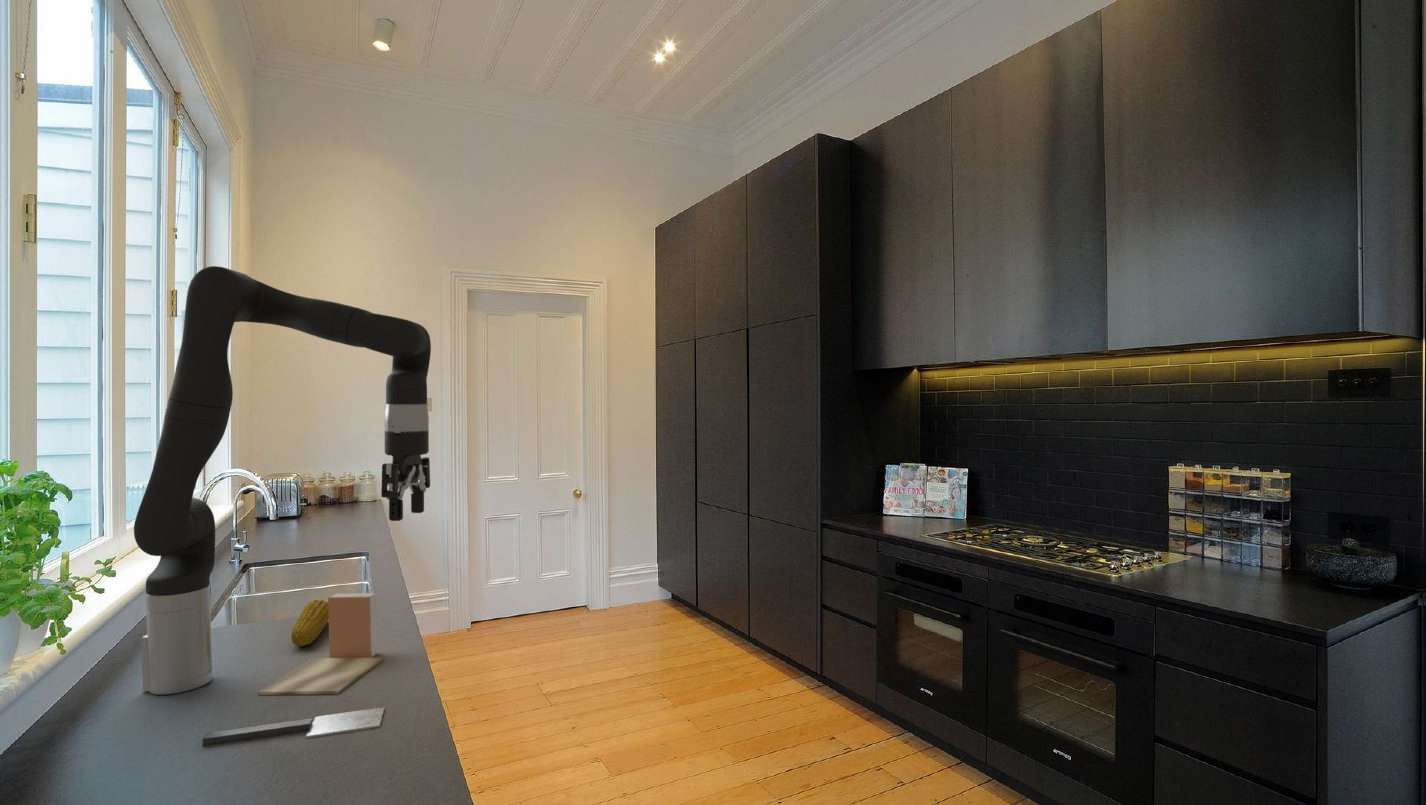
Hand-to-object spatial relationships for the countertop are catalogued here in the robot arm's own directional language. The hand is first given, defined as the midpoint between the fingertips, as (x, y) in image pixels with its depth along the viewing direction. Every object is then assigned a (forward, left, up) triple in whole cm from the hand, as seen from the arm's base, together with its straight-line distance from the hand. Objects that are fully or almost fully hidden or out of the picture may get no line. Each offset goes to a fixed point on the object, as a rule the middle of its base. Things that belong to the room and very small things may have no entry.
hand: (407, 516), depth 135 cm
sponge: (-15, +8, -29) cm, 34 cm away
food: (-31, +21, -29) cm, 48 cm away
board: (-15, -2, -29) cm, 33 cm away
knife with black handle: (-7, -24, -29) cm, 38 cm away
